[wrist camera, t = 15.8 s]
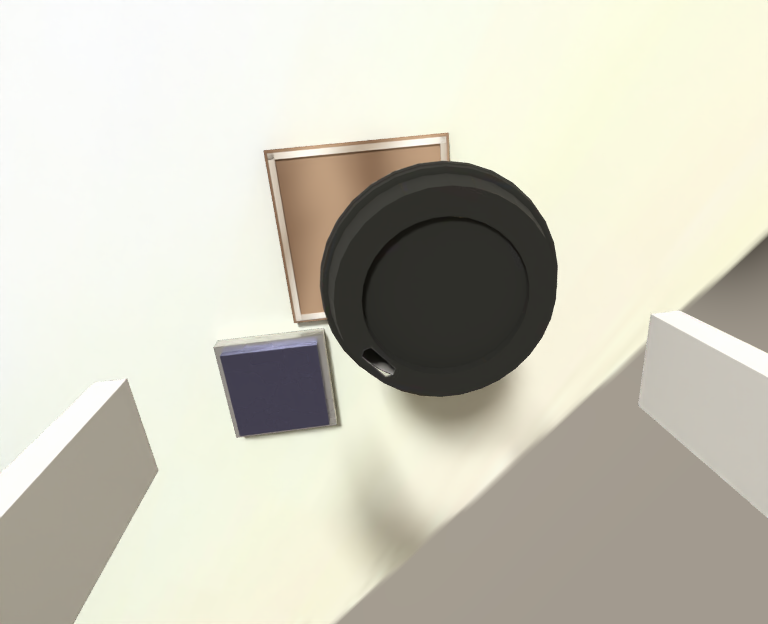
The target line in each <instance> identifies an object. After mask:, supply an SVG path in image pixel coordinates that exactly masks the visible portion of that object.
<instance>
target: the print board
mask: <svg viewBox="0 0 768 624" xmlns="http://www.w3.org/2000/svg"><path fill="white" fill-rule="evenodd" d="M264 156H265V162H266V167H267V173H268V178H269V184H270V190H271V195H272V201H273V207H274V212H275V218H276V224H277V229H278V235H279V241H280V246H281V252H282V257H283V263H284V269H285V274H286V280H287V286H288V291H289V297H290V303H291V308H292V314H293V319H294V323H300V322H308V321H317V320H326V319H327V318H326V315H325V313H324V310H323V304H322V298H321V292H320V266H321V261H322V257H323V253H324V249H325V245H326V242H327V239H328V237H329V235H330V233H331V231H332V229H333V227H334V225H335V223H336V221H337V219H338V218H339V217H340V216H341V214H342V213H343V212H344V210H345V209H346V208H347V206H348V205H349V204H350V203H351V201H352V200H353V199H354V198H356V197H357V196H358V195H359V194H360V193H361V192H362V191H364V190H365V189H366V188H367V187H368V186H369V185H371V184H372V183H374V182H376V181H377V180H379V179H381V178H383V177H384V176H386V175H388V174H390V173H391V172H393V171H396V170H399V169H402V168H405V167H408V166H412V165H415V164H418V163H426V162H435V161H450V159H449V133H440V134H430V135H420V136H409V137H399V138H388V139H378V140H368V141H357V142H347V143H336V144H326V145H316V146H305V147H295V148H284V149H274V150H264Z"/></svg>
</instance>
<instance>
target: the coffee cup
mask: <svg viewBox="0 0 768 624" xmlns="http://www.w3.org/2000/svg"><path fill="white" fill-rule="evenodd" d="M557 270H558V265H557V258H556V252H555V246H554V241H553V239H552V236H551V234H550V231H549V229H548V226H547V224H546V221H545V220H544V218H543V217H542V215H541V214H540V212H539V211H538V210H537V208H536V207H535V205H534V204H533V202H532V201H531V199H530V198H529V197H527V196H526V195H525V194H524V193H523V192H522V191H521V190H520V189H519V188H518V187H517V186H516V185H515V184H514V183H512V182H511V181H509V180H507V179H505V178H504V177H502V176H500V175H499V174H497V173H495V172H494V171H492V170H488V169H485V168H482V167H479V166H476V165H473V164H470V163H463V162H453V161H435V162H426V163H418V164H415V165H412V166H408V167H405V168H402V169H399V170H396V171H393V172H391V173H390V174H388V175H386V176H384V177H383V178H381V179H379V180H377V181H376V182H374V183H372V184H371V185H369V186H368V187H367V188H366V189H365V190H364V191H362V192H361V193H360V194H359V195H358V196H357V197H356V198H354V199H353V200H352V201H351V203H350V204H349V205H348V206H347V208H346V209H345V210H344V212H343V213H342V214H341V216H340V217H339V218H338V219H337V221H336V223H335V225H334V227H333V229H332V231H331V233H330V235H329V237H328V239H327V242H326V245H325V249H324V253H323V257H322V261H321V266H320V292H321V298H322V304H323V310H324V313H325V315H326V318H327V320H328V323H329V326H330V328H331V331H332V333H333V334H334V336H335V338H336V339H337V341H338V342H339V344H340V345H341V347H342V348H343V350H344V351H345V352H346V353H347V354H348V355H349V356H350V357H351V358H352V359H353V360H354V361H355V362H356V363H357V364H358V365H359V366H360V367H362V368H363V369H365V370H366V371H367V372H368V373H370V374H371V375H373V376H374V377H376V378H377V379H379V380H380V381H382V382H383V383H385V384H387V385H389V386H392V387H394V388H396V389H398V390H401V391H404V392H408V393H412V394H417V395H421V396H437V397H443V396H452V395H461V394H464V393H468V392H471V391H475V390H478V389H481V388H483V387H485V386H488V385H490V384H492V383H494V382H496V381H498V380H500V379H501V378H503V377H504V376H506V375H507V374H508V373H510V372H511V371H513V370H514V369H516V368H517V367H518V366H519V365H520V364H521V363H522V362H523V361H524V360H525V359H526V358H527V357H528V356H529V355H530V354H531V352H532V351H533V350H534V348H535V347H536V345H537V344H538V343H539V341H540V340H541V338H542V337H543V335H544V332H545V330H546V328H547V326H548V324H549V322H550V320H551V316H552V312H553V308H554V305H555V301H556V289H557ZM374 366H375V367H376V368H375V367H374ZM377 368H378V369H380V370H382V371H384V372H386V373H389V374H391V375H388V376H385V375H384V374H383V373H381V372H380V371H379V370H378V369H377Z"/></svg>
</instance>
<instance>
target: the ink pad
mask: <svg viewBox="0 0 768 624" xmlns="http://www.w3.org/2000/svg"><path fill="white" fill-rule="evenodd" d="M213 348H214V351H215V355H216V359H217V363H218V367H219V371H220V375H221V379H222V383H223V387H224V391H225V395H226V399H227V402H228V406H229V410H230V414H231V418H232V422H233V426H234V430H235V434H236V438H238V437H246V436H254V435H262V434H270V433H277V432H285V431H293V430H301V429H309V428H317V427H324V426H332V425H337V413H336V407H335V400H334V394H333V387H332V380H331V374H330V367H329V361H328V354H327V347H326V341H325V334H324V328H321V329H312V330H304V331H295V332H286V333H278V334H269V335H261V336H252V337H244V338H235V339H226V340H218V341H217V343H216V344H215V346H214V347H213Z"/></svg>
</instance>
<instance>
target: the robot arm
mask: <svg viewBox="0 0 768 624" xmlns="http://www.w3.org/2000/svg"><path fill="white" fill-rule="evenodd" d="M638 406H639V407H640V408H642V409H643V410H644V411H645V412H646V413H648V415H650V416H651V417H652V418H653V419H655V421H657V422H658V423H659V424H660V425H661V426H662V427H663V428H665V429H666V430H667V431H668V432H669V433H670V434H672V435H673V436H674V437H675V438H676V439H677V440H678V441H680V442H681V443H682V444H683V445H684V446H685V447H686V448H688V449H689V450H690V451H691V452H692V453H693V454H695V455H696V456H697V457H698V458H699V459H700V460H701V461H703V462H704V463H705V464H706V465H707V466H708V467H710V468H711V469H712V470H713V471H714V472H715V473H716V474H718V475H719V476H720V477H721V478H722V479H723V480H724V481H726V482H727V483H728V484H729V485H730V486H731V487H732V488H734V489H735V490H736V491H737V492H738V493H740V494H741V495H742V496H743V497H744V498H745V499H746V500H747V501H749V502H750V503H751V504H752V505H753V506H754V507H756V508H757V509H758V510H759V511H760V512H761V513H762V514H764V515H765V516H766V517H767V518H768V353H766V352H764V351H762V350H759V349H758V348H756V347H753V346H751V345H749V344H747V343H745V342H743V341H741V340H739V339H737V338H735V337H733V336H730V335H729V334H727V333H725V332H723V331H720V330H718V329H716V328H714V327H712V326H710V325H708V324H706V323H704V322H702V321H700V320H698V319H696V318H694V317H692V316H690V315H687V314H685V313H683V312H681V311H671V312H663V313H655V314H651V316H650V323H649V330H648V338H647V345H646V352H645V360H644V367H643V374H642V381H641V389H640V396H639V403H638ZM157 472H158V468H157V465H156V462H155V459H154V456H153V453H152V450H151V447H150V444H149V442H148V439H147V436H146V433H145V430H144V427H143V424H142V421H141V418H140V415H139V412H138V409H137V406H136V403H135V400H134V398H133V395H132V392H131V389H130V386H129V383H128V380H127V379H119V380H111V381H103V382H95V383H93V384H92V385H91V386H90V387H89V388H88V389H87V390H86V391H85V392H84V393H83V394H82V395H81V396H80V397H79V398H78V399H77V400H76V401H75V402H74V403H73V404H72V405H70V406H69V407H68V408H67V409H66V410H65V411H64V412H63V413H62V414H61V415H60V416H59V417H58V418H57V419H56V420H55V421H54V422H53V423H52V424H51V425H50V426H49V427H48V428H47V429H46V430H45V431H44V432H43V433H42V434H41V435H40V436H38V437H37V438H36V439H35V440H34V441H33V442H32V443H31V444H30V445H29V446H28V447H27V448H26V449H25V450H24V451H23V452H22V453H21V454H20V455H19V456H18V457H17V458H16V459H15V460H14V461H13V462H12V463H11V464H10V465H9V466H8V467H7V468H5V469H4V470H3V471H2V472H1V473H0V624H73V623H74V622H75V620H76V618H77V616H78V614H79V613H80V611H81V609H82V607H83V605H84V604H85V602H86V600H87V598H88V596H89V595H90V593H91V591H92V589H93V587H94V586H95V584H96V582H97V580H98V578H99V577H100V575H101V573H102V571H103V569H104V568H105V566H106V564H107V562H108V560H109V559H110V557H111V555H112V553H113V551H114V550H115V548H116V546H117V544H118V542H119V541H120V539H121V537H122V535H123V533H124V532H125V530H126V528H127V526H128V524H129V523H130V521H131V519H132V517H133V515H134V514H135V512H136V510H137V508H138V506H139V505H140V503H141V501H142V499H143V497H144V495H145V494H146V492H147V490H148V488H149V486H150V485H151V483H152V481H153V479H154V477H155V476H156V474H157Z"/></svg>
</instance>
